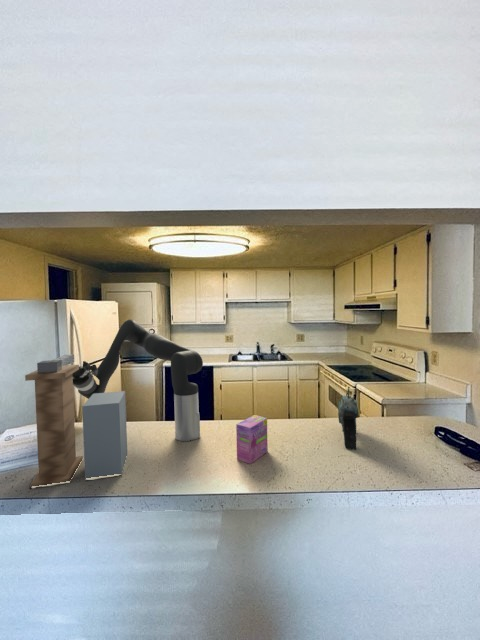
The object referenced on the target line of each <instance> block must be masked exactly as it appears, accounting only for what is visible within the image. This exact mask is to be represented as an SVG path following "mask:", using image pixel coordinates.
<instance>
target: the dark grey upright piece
mask: <svg viewBox="0 0 480 640" xmlns="http://www.w3.org/2000/svg"><path fill="white" fill-rule="evenodd" d="M355 398H356V397H355V395H353V396H350V386H348V387H347V392H346V395H342V396H341V400H340V401H339V400H338V410H337V412H338V413H337V415H338V416H337V417H338V422H339V424H340V425H341V429H342V432H343V442H344V448H345V449H346V450H357V418H359V408H358V402H357V399H355Z"/></svg>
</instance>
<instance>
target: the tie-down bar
mask: <svg viewBox="0 0 480 640" xmlns="http://www.w3.org/2000/svg"><path fill="white" fill-rule="evenodd" d="M74 362H75V354H64V355H61V356H59V357H56V358H53V359H51V360H50V359H48V360H41V361H39V362H37V363H36V366H37V369H36V370H37V371H38V374H39V373H55V372H59V371H61V370H62V368H63V367H65V366H67V365H71V364H72V363H74Z"/></svg>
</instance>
